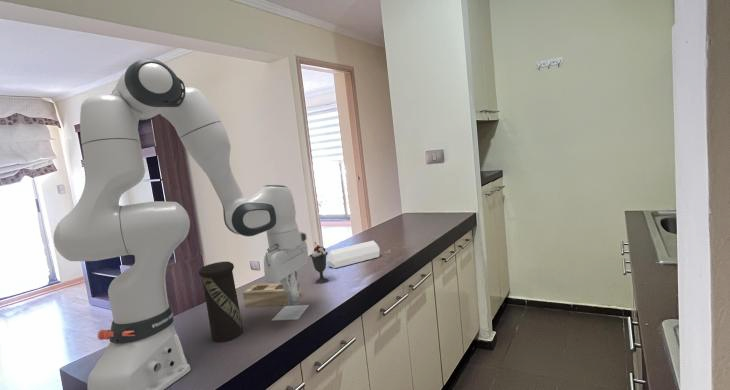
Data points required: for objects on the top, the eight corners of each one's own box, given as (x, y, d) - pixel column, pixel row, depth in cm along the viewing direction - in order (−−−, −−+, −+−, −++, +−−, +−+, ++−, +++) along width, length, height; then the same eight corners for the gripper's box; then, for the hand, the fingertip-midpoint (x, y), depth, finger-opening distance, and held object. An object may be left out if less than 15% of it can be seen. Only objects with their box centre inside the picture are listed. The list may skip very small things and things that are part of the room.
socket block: (292, 305, 121) (290, 290, 120) (245, 308, 124) (242, 292, 123) (301, 296, 129) (299, 281, 128) (256, 298, 132) (254, 284, 131)
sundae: (316, 285, 137) (310, 244, 136) (311, 281, 143) (305, 241, 142) (333, 281, 140) (328, 240, 138) (327, 276, 146) (322, 237, 144)
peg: (296, 305, 110) (291, 271, 109) (287, 306, 111) (281, 271, 110) (301, 301, 113) (295, 268, 112) (291, 302, 114) (286, 268, 113)
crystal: (331, 262, 152) (385, 248, 162) (324, 250, 157) (376, 238, 168) (330, 275, 156) (382, 262, 166) (323, 264, 161) (374, 251, 172)
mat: (297, 320, 109) (297, 319, 109) (271, 321, 110) (271, 320, 110) (309, 306, 119) (309, 304, 119) (285, 307, 120) (284, 306, 120)
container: (214, 347, 98) (201, 271, 96) (207, 336, 106) (195, 265, 104) (248, 336, 103) (236, 262, 101) (239, 325, 111) (228, 257, 108)
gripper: (276, 248, 100) (284, 301, 101) (308, 232, 119) (315, 276, 120) (254, 250, 101) (262, 301, 102) (290, 234, 121) (297, 277, 122)
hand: (291, 288), depth 111 cm, fingers closed on peg, 3 cm apart
